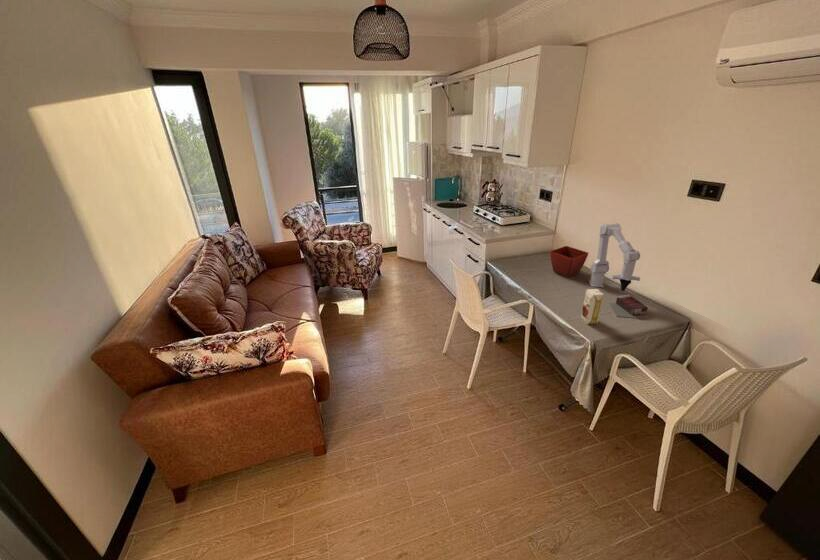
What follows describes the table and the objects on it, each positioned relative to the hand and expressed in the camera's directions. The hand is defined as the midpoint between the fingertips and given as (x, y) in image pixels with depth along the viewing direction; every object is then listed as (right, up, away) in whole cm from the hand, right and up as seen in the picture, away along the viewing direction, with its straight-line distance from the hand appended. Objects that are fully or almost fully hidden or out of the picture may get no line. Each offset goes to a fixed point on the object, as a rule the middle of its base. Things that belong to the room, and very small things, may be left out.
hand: (622, 290), depth 203 cm
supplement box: (+1, -5, +2) cm, 6 cm away
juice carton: (-28, -18, -14) cm, 36 cm away
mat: (-2, -12, -6) cm, 14 cm away
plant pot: (-14, +12, +46) cm, 49 cm away
